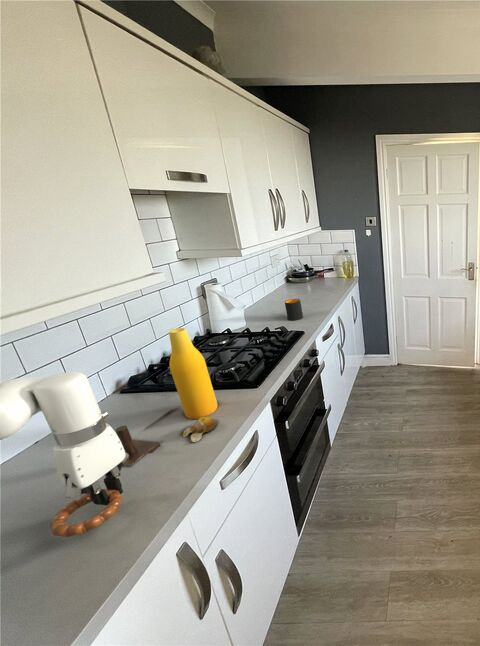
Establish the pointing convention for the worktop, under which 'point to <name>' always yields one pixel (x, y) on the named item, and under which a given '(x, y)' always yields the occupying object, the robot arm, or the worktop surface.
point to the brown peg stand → (134, 446)
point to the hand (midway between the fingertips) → (109, 497)
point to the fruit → (200, 428)
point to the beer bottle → (191, 376)
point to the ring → (70, 530)
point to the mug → (293, 309)
